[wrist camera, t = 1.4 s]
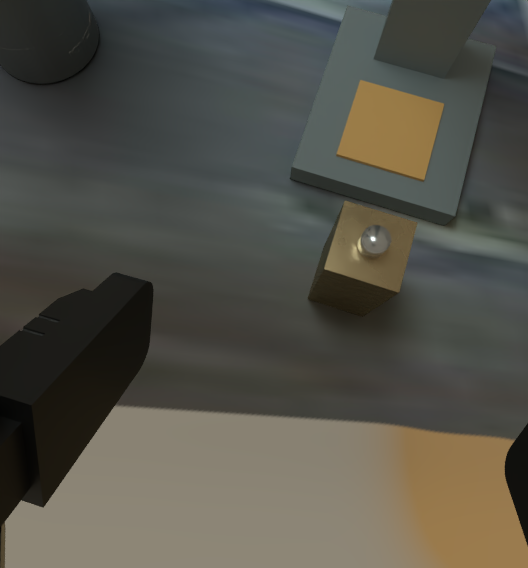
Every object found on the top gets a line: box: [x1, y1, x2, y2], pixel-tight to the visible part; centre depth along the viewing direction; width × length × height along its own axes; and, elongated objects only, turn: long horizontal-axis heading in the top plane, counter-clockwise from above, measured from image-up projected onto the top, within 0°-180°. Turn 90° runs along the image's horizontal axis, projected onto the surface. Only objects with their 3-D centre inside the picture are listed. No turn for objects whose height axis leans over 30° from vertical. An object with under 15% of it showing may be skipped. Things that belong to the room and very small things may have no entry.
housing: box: [308, 201, 417, 317], centre depth 29 cm, size 4×4×10 cm
